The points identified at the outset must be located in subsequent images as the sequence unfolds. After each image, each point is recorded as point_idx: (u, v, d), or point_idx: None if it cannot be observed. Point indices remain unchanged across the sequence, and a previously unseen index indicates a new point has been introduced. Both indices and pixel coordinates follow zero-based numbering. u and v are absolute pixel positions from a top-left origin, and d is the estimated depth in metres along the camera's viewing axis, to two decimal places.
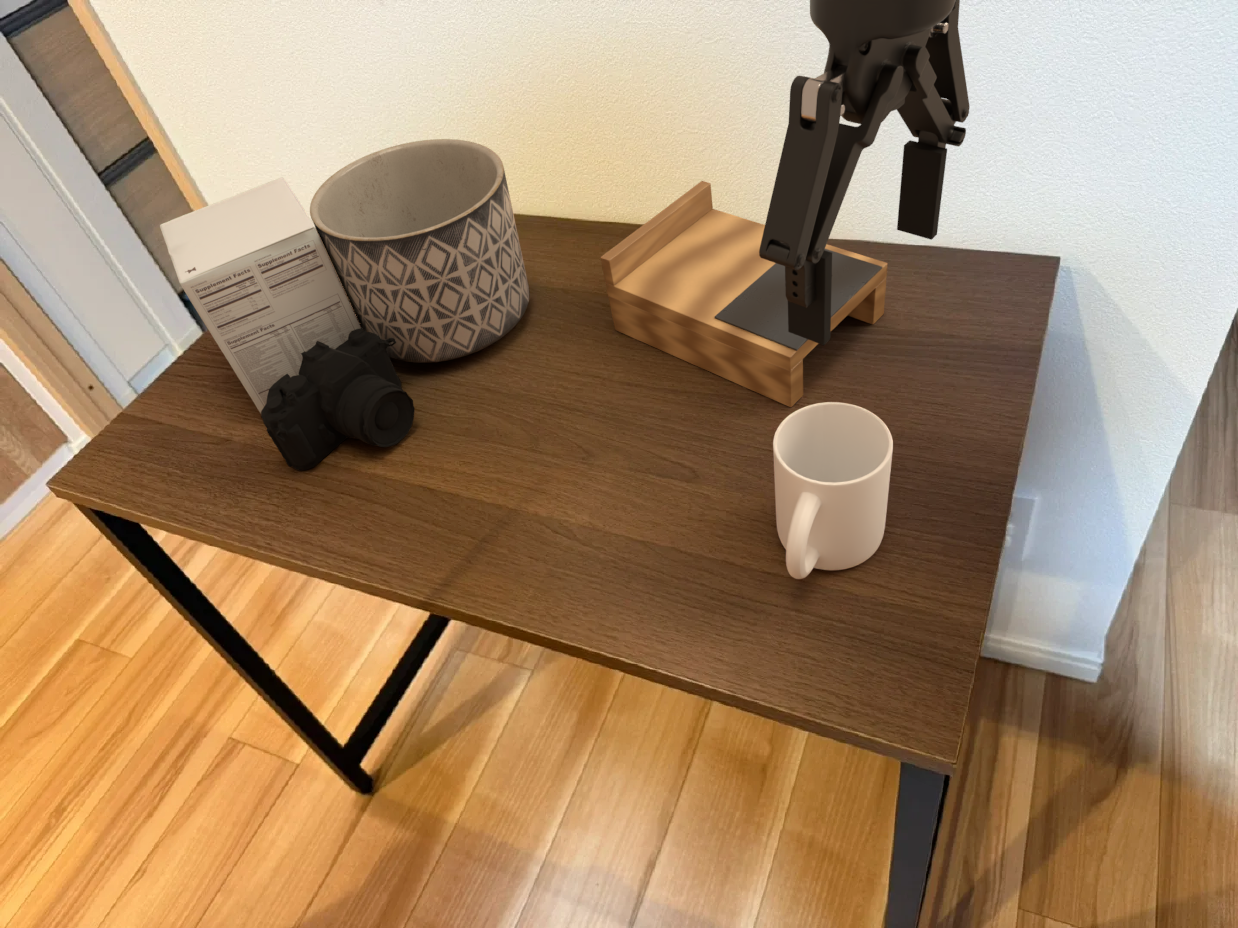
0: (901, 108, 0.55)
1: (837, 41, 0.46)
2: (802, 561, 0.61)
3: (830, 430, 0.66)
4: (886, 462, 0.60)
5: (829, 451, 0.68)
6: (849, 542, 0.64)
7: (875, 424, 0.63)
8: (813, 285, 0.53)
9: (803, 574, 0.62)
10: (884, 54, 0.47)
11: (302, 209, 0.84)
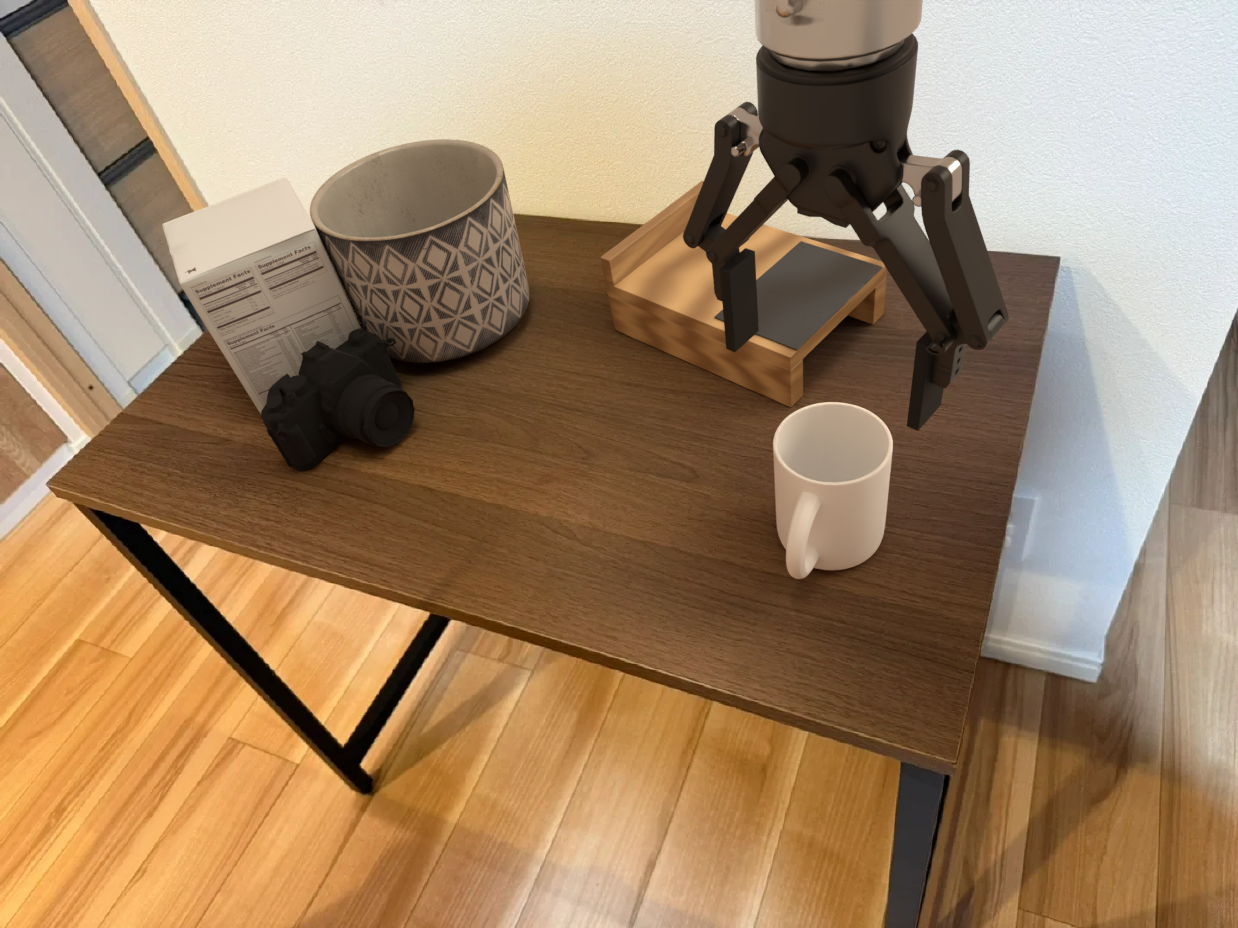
0: (756, 227, 0.51)
1: (897, 134, 0.42)
2: (802, 561, 0.61)
3: (830, 430, 0.66)
4: (886, 462, 0.60)
5: (829, 451, 0.68)
6: (849, 542, 0.64)
7: (875, 424, 0.63)
8: None
9: (803, 574, 0.62)
10: None
11: (303, 210, 0.83)
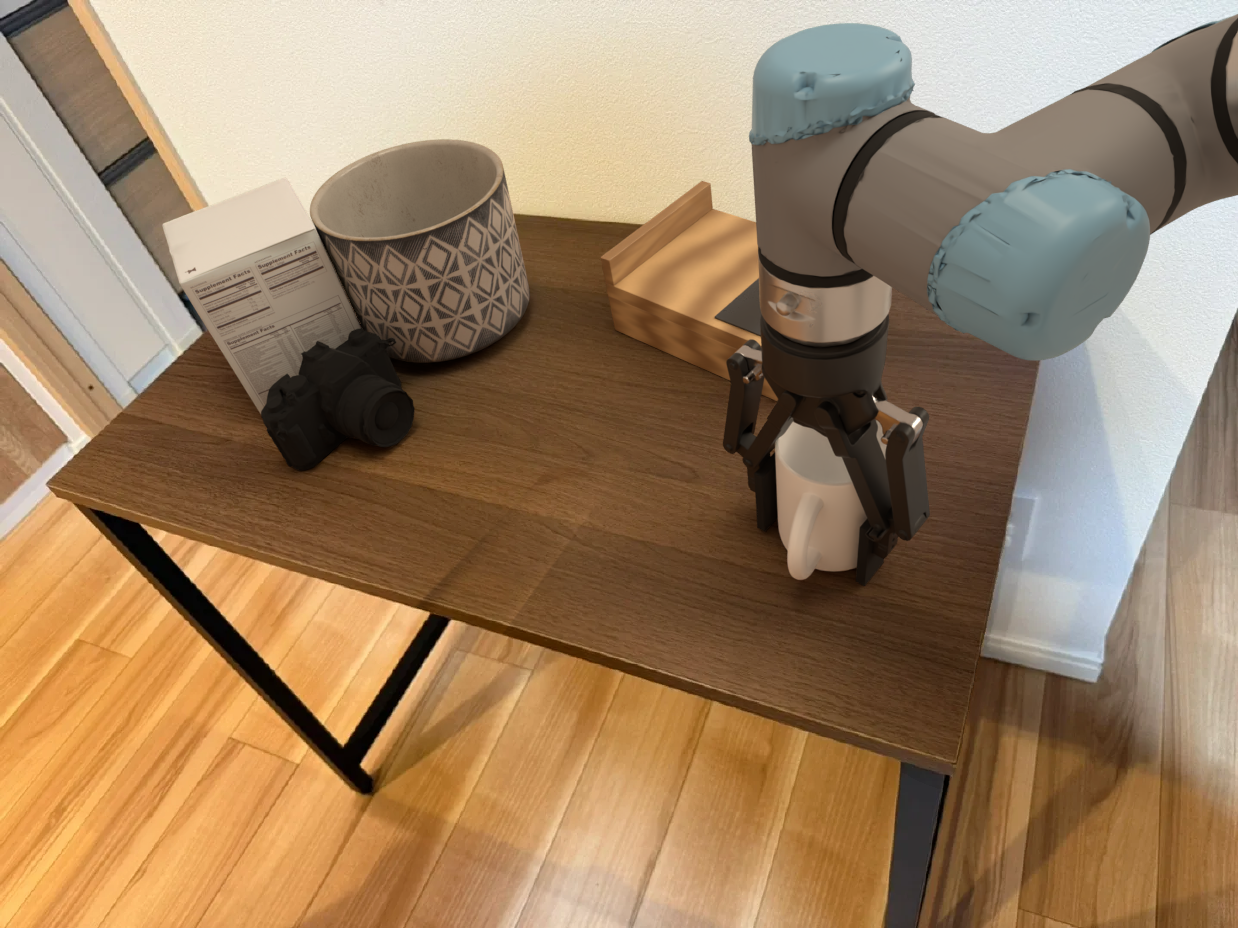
0: (776, 438, 0.62)
1: (873, 384, 0.52)
2: (803, 562, 0.61)
3: None
4: None
5: (831, 452, 0.68)
6: (851, 543, 0.64)
7: None
8: None
9: (804, 575, 0.62)
10: None
11: (303, 210, 0.83)
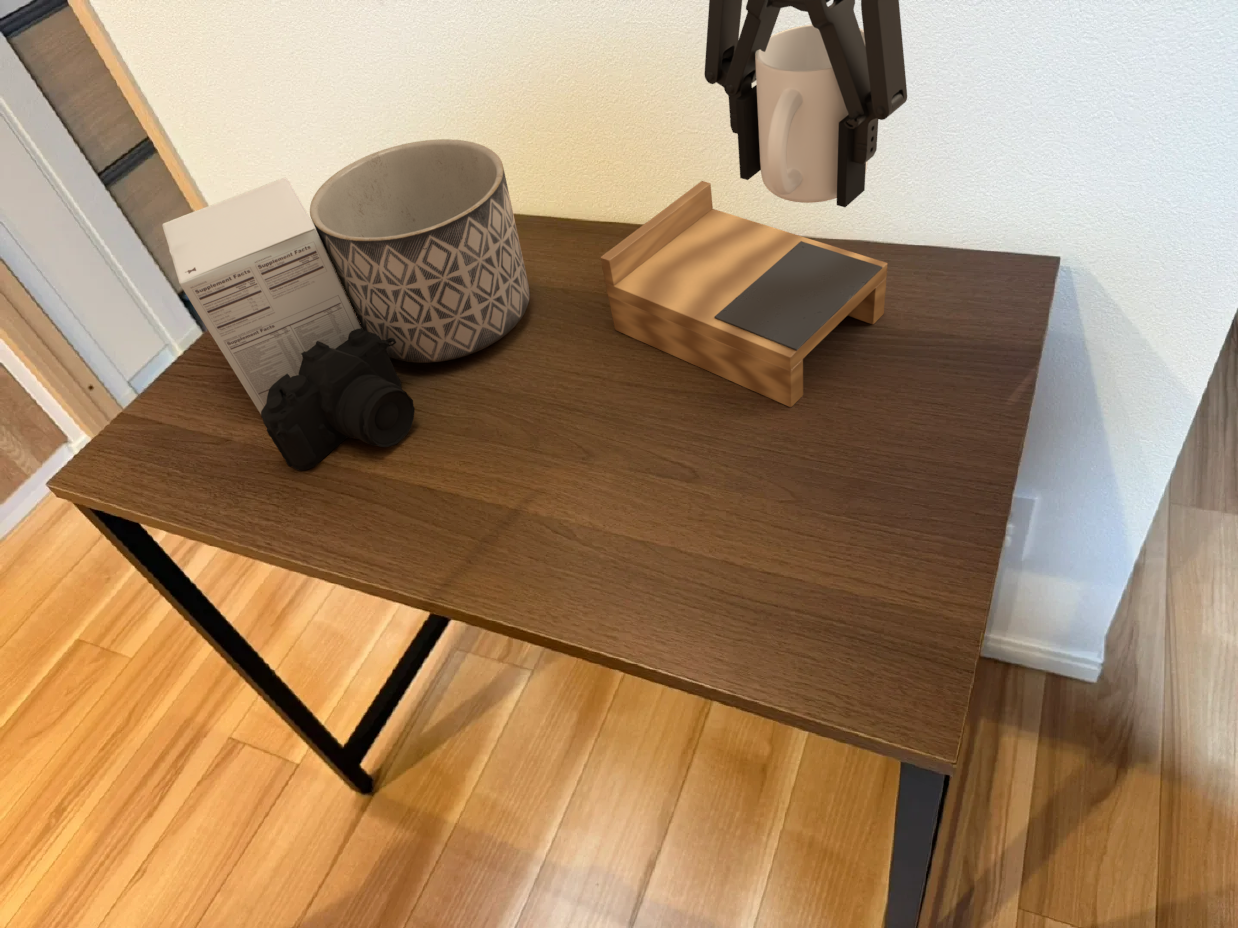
0: (756, 42, 0.62)
1: None
2: (783, 158, 0.61)
3: (813, 62, 0.67)
4: None
5: None
6: (831, 156, 0.64)
7: None
8: None
9: (785, 180, 0.63)
10: None
11: (303, 210, 0.83)
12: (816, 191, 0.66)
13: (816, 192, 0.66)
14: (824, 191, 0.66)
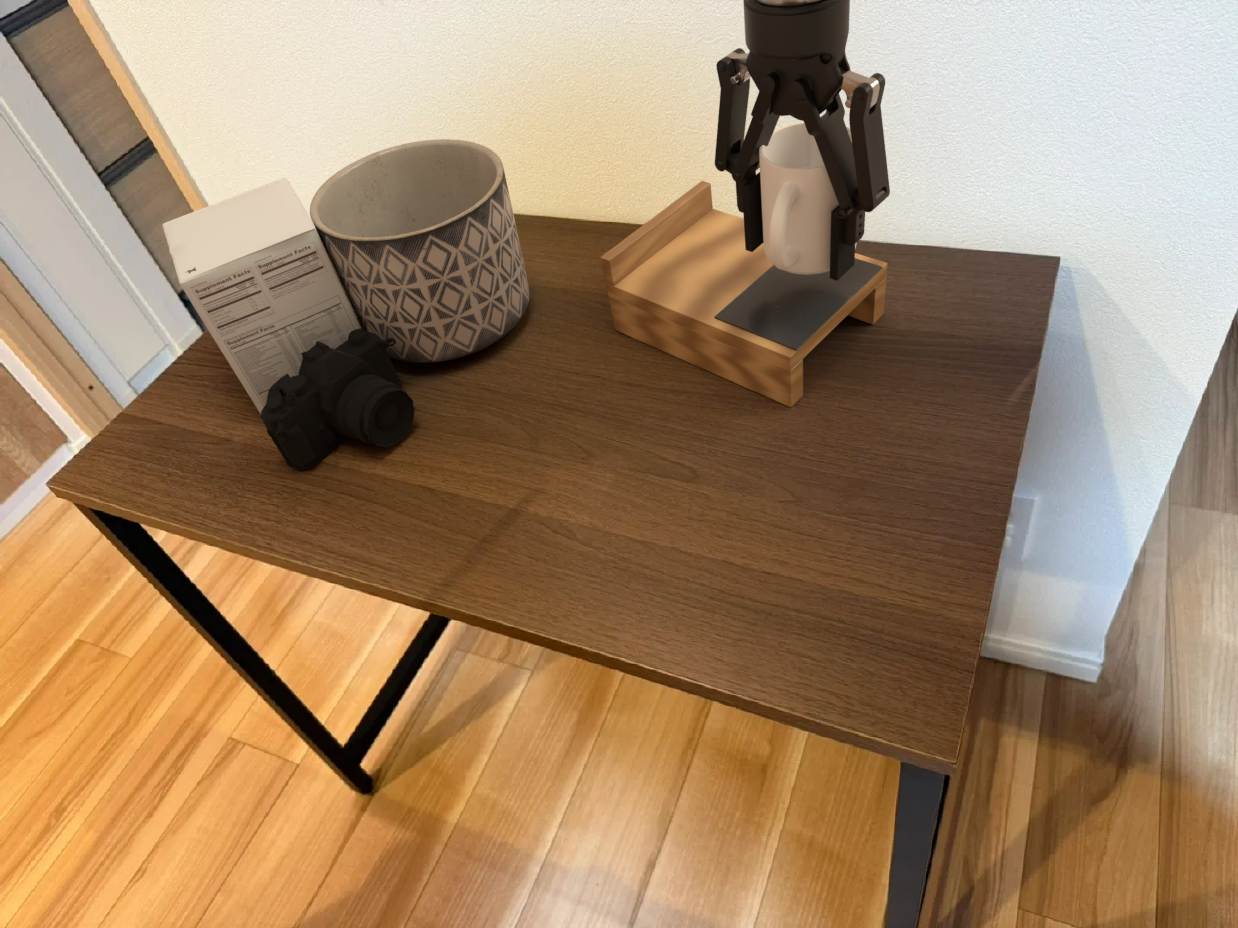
0: (760, 140, 0.72)
1: (837, 50, 0.63)
2: (783, 242, 0.71)
3: (809, 152, 0.77)
4: None
5: None
6: (824, 237, 0.74)
7: None
8: None
9: (784, 259, 0.72)
10: None
11: (303, 210, 0.83)
12: (812, 265, 0.76)
13: (812, 266, 0.76)
14: (819, 265, 0.76)
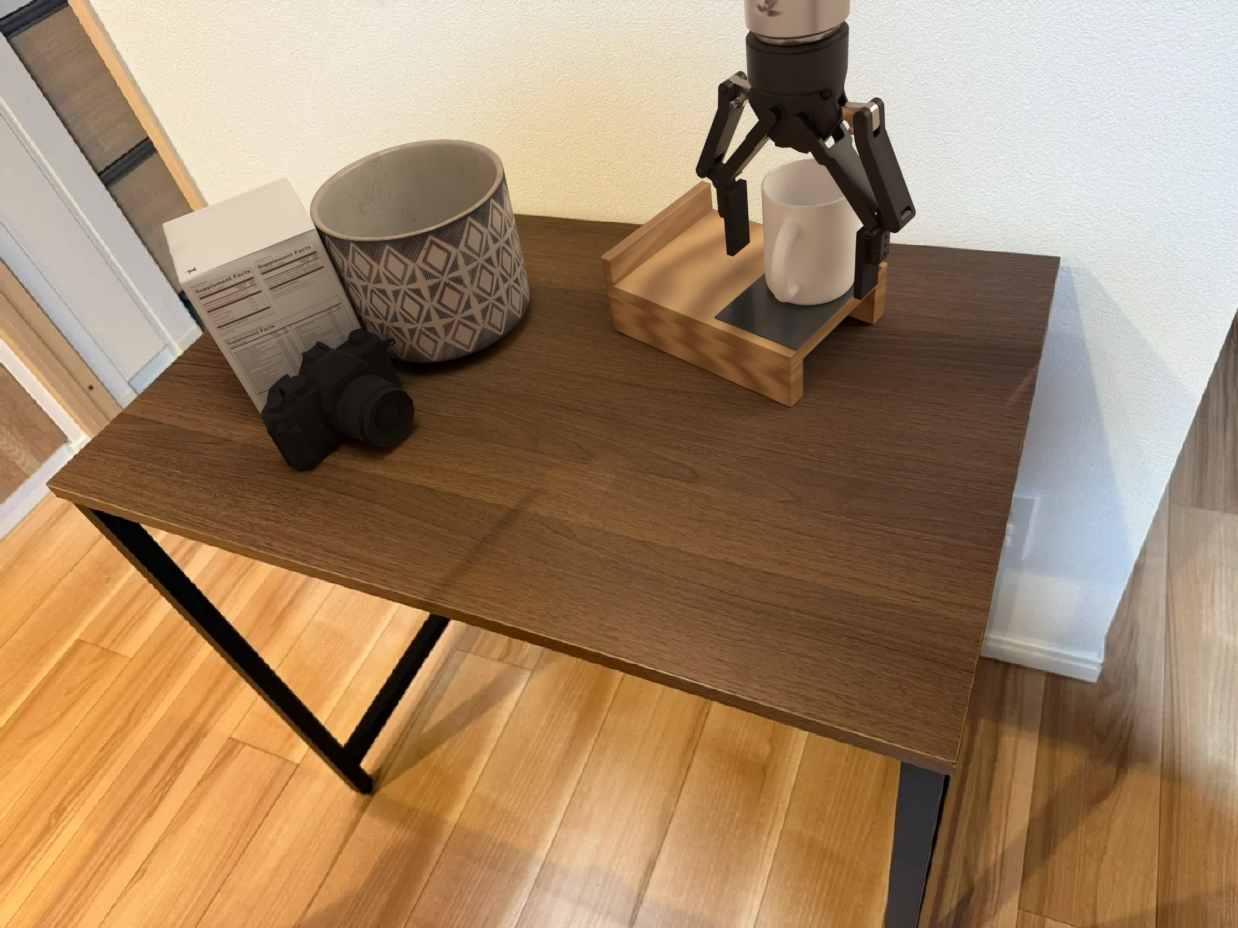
0: (747, 159, 0.74)
1: (837, 87, 0.65)
2: (784, 276, 0.73)
3: (810, 186, 0.79)
4: None
5: None
6: (824, 271, 0.76)
7: None
8: None
9: (785, 293, 0.75)
10: None
11: (303, 210, 0.83)
12: (812, 297, 0.78)
13: (812, 298, 0.78)
14: (819, 297, 0.78)
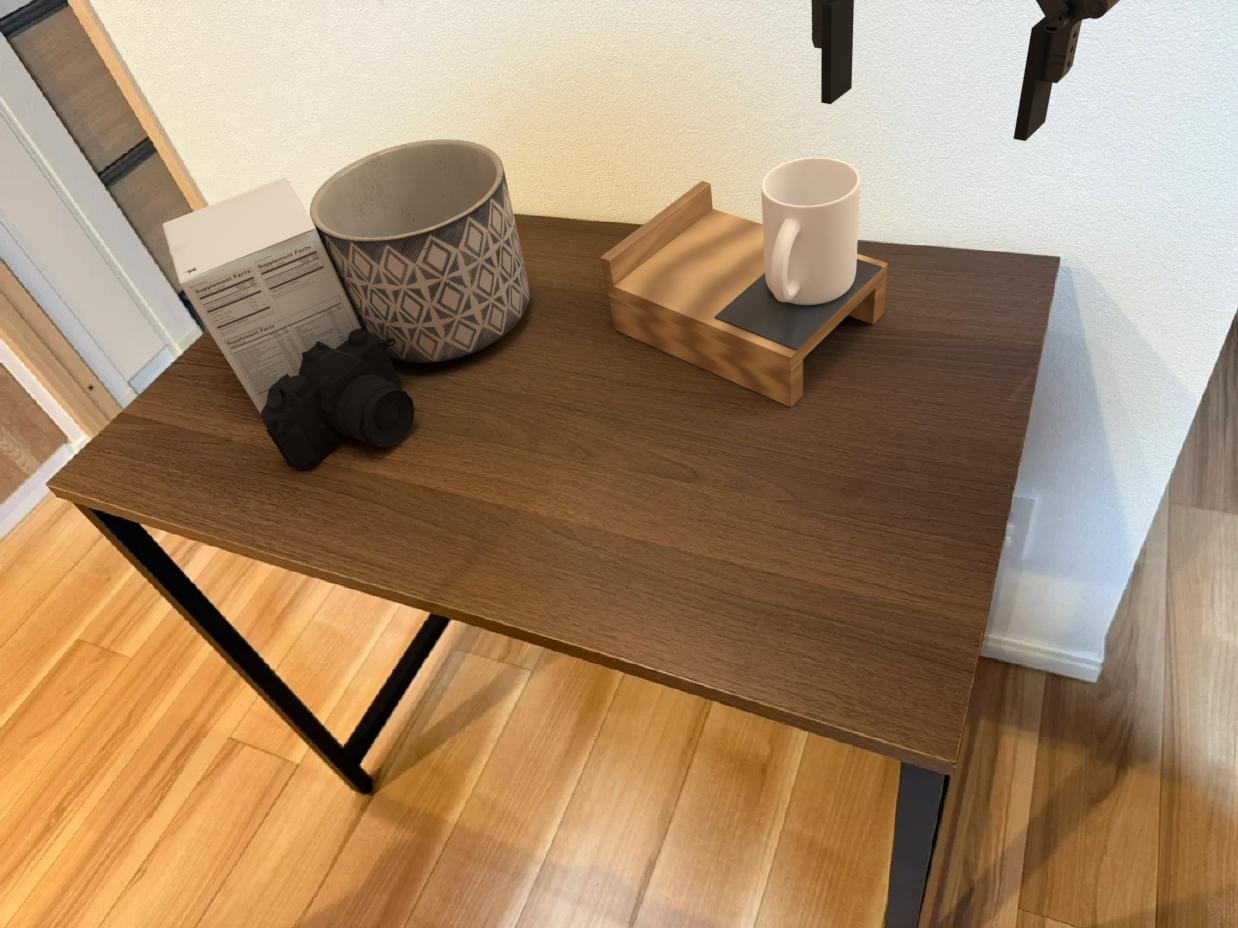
0: None
1: None
2: (784, 276, 0.73)
3: (810, 186, 0.79)
4: (854, 191, 0.72)
5: None
6: (824, 271, 0.76)
7: (846, 170, 0.76)
8: None
9: (785, 293, 0.75)
10: None
11: (304, 210, 0.83)
12: (812, 297, 0.78)
13: (812, 298, 0.78)
14: (819, 297, 0.78)
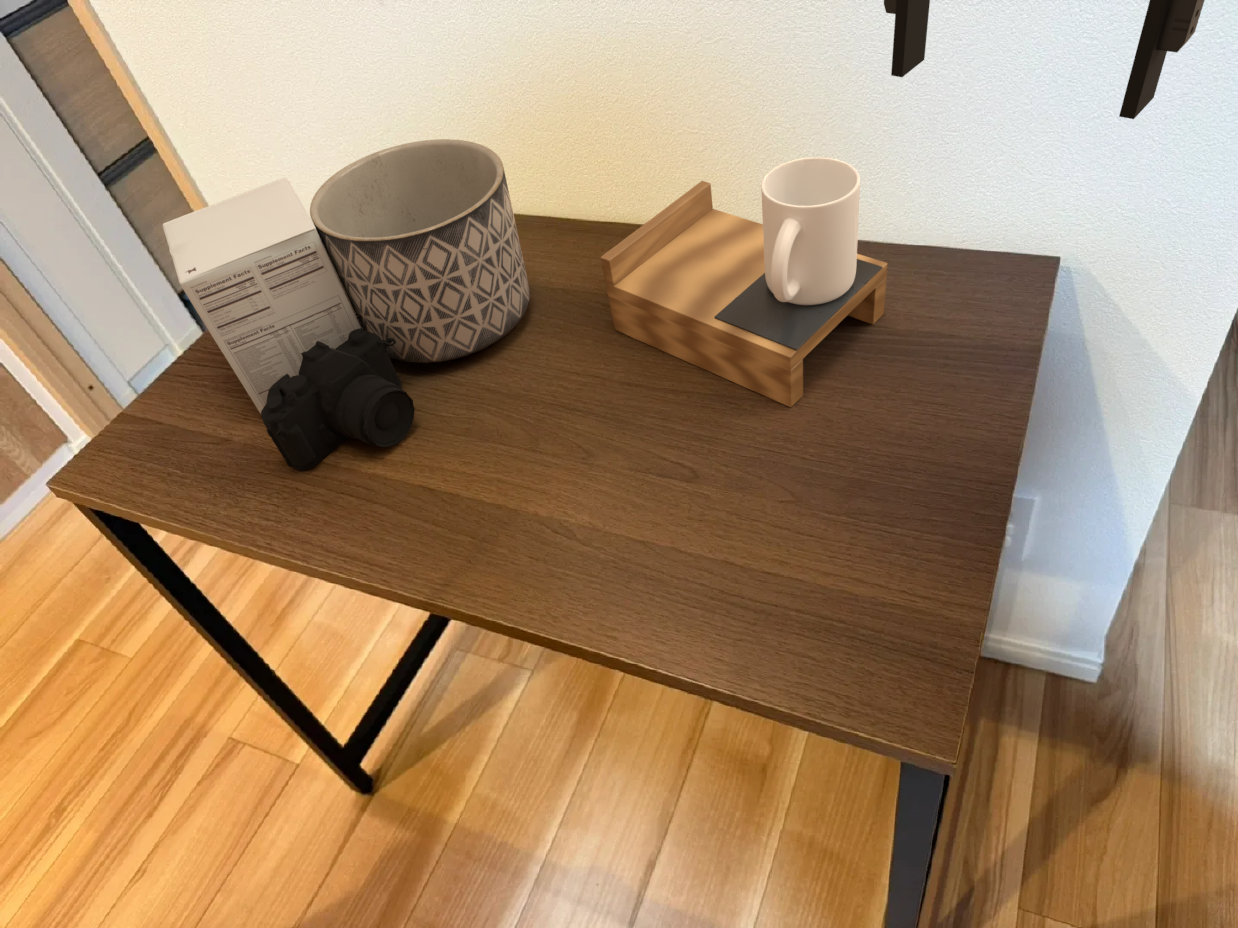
0: None
1: None
2: (784, 276, 0.73)
3: (810, 186, 0.79)
4: (854, 191, 0.72)
5: None
6: (824, 271, 0.76)
7: (846, 170, 0.76)
8: None
9: (785, 293, 0.75)
10: None
11: (304, 210, 0.83)
12: (812, 297, 0.78)
13: (812, 298, 0.78)
14: (819, 297, 0.78)
